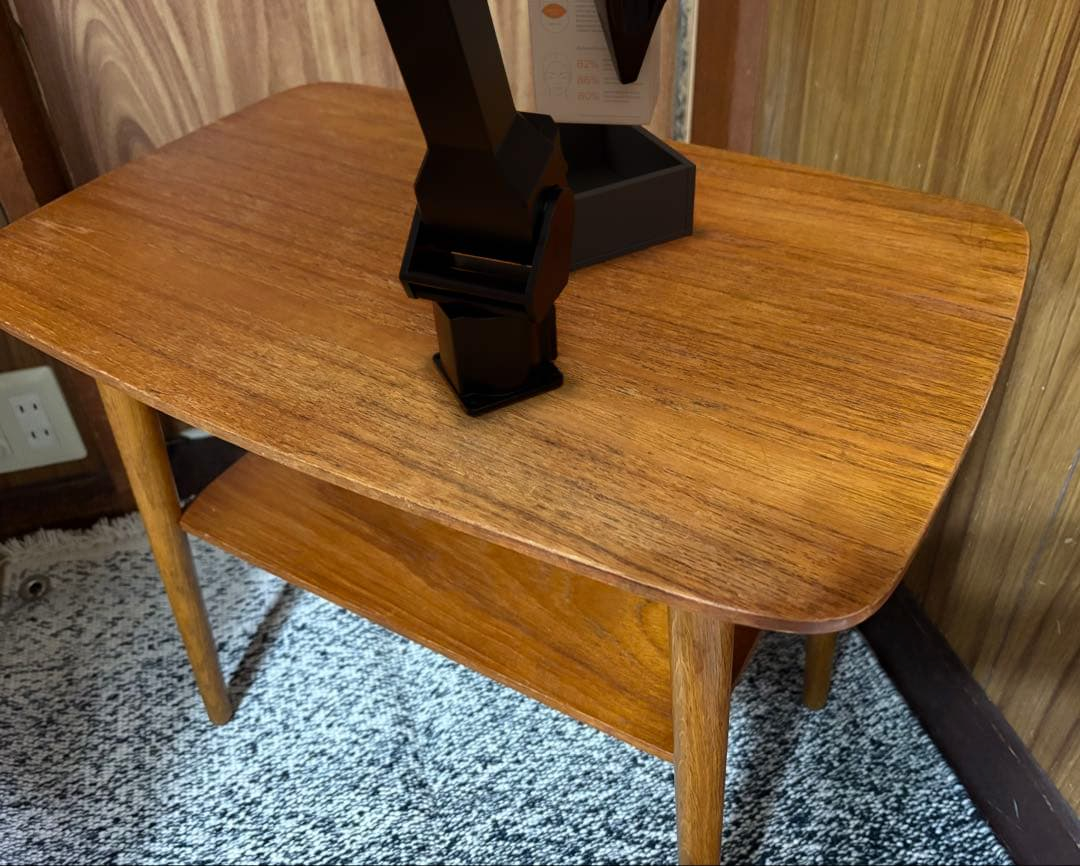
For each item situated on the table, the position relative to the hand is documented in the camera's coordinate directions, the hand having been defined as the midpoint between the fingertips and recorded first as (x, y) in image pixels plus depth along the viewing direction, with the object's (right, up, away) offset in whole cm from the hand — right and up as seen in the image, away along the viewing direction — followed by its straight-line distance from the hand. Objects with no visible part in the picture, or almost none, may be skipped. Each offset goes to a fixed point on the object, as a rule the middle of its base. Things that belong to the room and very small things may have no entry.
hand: (596, 60), depth 66 cm
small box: (0, -3, +2) cm, 4 cm away
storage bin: (0, -8, +11) cm, 13 cm away
